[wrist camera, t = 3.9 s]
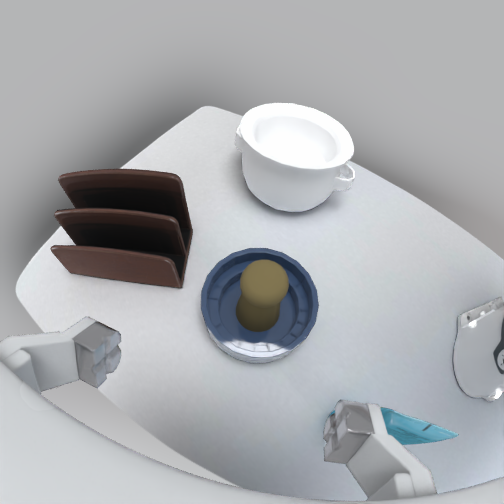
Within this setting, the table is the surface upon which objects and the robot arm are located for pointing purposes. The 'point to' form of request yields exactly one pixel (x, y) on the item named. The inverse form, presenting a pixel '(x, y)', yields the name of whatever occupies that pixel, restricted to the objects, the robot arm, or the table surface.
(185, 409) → the table surface
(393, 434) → the tube
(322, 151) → the pot
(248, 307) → the cork
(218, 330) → the bowl
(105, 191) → the letter holder
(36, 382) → the robot arm
